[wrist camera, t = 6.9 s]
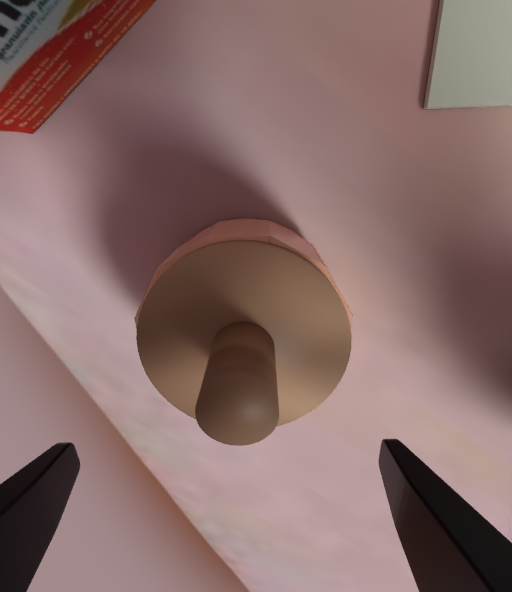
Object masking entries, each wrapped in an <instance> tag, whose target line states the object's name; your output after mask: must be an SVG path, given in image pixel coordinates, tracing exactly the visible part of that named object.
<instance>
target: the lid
mask: <svg viewBox="0 0 512 592" xmlns="http://www.w3.org/2000/svg"><path fill="white" fill-rule="evenodd" d="M137 346H138V352H139V356H140V360H141V363H142V365H143V367H144V370H145V372H146V374H147V376H148V377H149V379H150V381H151V382H152V384H153V385H154V386H155V388H156V389H157V390H158V391H159V393H160V394H161V395H162V396H163V397H164V398H165V399H166V400H167V401H168V402H170V403H171V404H172V405H173V406H175V407H176V408H177V409H179V410H180V411H182V412H184V413H185V414H187V415H189V416H191V417H193V418H195V419H196V420H197V422H198V424H199V426H200V428H201V429H202V430H203V431H204V432H205V433H206V434H207V435H208V436H209V437H211V438H213V439H214V440H216V441H219V442H221V443H224V444H228V445H249V444H253V443H256V442H259V441H261V440H263V439H264V438H266V437H267V436H268V435H270V434H271V433H272V431H273V430H274V429H275V427H276V426H279V425H283V424H286V423H289V422H291V421H294V420H296V419H298V418H300V417H302V416H304V415H306V414H307V413H309V412H310V411H312V410H313V409H315V408H316V407H317V406H319V405H320V404H321V403H322V402H323V401H324V400H325V399H326V398H327V397H328V396H329V395H330V394H331V393H332V392H333V390H334V389H335V388H336V386H337V385H338V383H339V382H340V380H341V378H342V376H343V374H344V372H345V370H346V367H347V364H348V361H349V356H350V351H351V328H350V322H349V318H348V315H347V311H346V309H345V307H344V305H343V303H342V300H341V298H340V297H339V295H338V293H337V291H336V290H335V288H334V287H333V285H332V284H331V282H330V281H329V280H328V278H327V277H326V276H325V275H324V274H323V273H322V272H321V271H320V270H319V269H318V268H317V267H316V266H315V265H314V264H312V263H311V262H310V261H309V260H307V259H305V258H304V257H302V256H301V255H299V254H298V253H295V252H293V251H291V250H289V249H287V248H285V247H282V246H278V245H275V244H272V243H268V242H262V241H257V240H229V241H222V242H218V243H213V244H209V245H207V246H204V247H201V248H198V249H196V250H194V251H192V252H190V253H189V254H187V255H185V256H183V257H182V258H180V259H179V260H178V261H176V262H175V263H174V264H172V265H171V266H170V267H169V268H168V269H167V270H166V271H165V272H164V273H163V274H162V275H161V277H160V278H159V279H158V280H157V281H156V283H155V284H154V285H153V287H152V288H151V289H150V291H149V292H148V294H147V296H146V298H145V300H144V302H143V305H142V307H141V310H140V313H139V318H138V323H137Z"/></svg>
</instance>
